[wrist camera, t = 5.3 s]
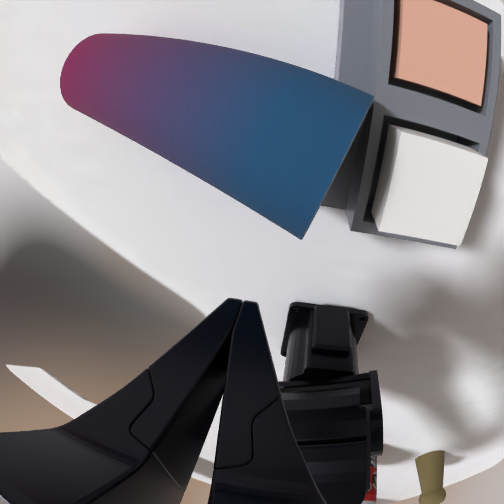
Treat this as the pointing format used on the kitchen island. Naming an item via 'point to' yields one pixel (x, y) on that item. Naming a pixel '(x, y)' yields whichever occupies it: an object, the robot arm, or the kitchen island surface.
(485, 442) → the kitchen island surface
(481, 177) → the off-white key
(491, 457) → the kitchen island surface
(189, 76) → the cup
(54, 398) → the kitchen island surface
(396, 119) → the key base
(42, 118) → the kitchen island surface
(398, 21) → the terracotta key
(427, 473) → the olive game pawn
